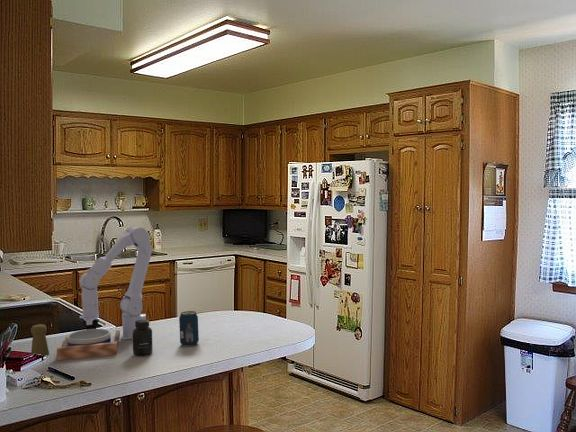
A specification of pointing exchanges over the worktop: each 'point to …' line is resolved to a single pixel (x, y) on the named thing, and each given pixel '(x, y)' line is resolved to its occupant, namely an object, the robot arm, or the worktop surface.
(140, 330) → the supplement bottle
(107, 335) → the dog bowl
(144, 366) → the worktop surface
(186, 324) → the soda can
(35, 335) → the cork
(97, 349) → the wooden tray
